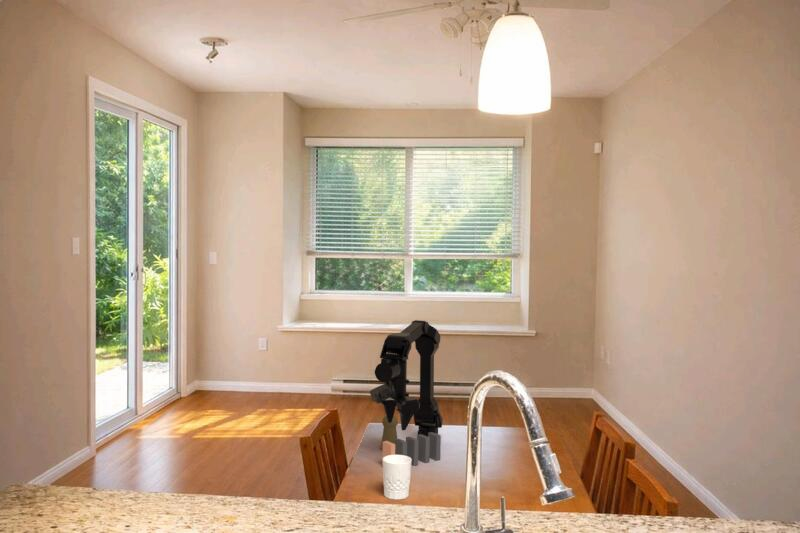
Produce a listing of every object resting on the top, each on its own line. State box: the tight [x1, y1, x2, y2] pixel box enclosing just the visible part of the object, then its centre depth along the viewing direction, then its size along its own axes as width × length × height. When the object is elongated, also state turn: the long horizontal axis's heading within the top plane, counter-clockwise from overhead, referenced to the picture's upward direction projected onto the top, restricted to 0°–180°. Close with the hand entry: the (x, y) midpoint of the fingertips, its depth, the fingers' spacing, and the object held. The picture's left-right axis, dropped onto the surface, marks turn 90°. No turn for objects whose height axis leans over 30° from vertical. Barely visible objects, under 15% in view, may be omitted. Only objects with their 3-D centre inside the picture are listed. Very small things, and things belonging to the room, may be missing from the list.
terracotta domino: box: [381, 441, 395, 469], centre depth 207 cm, size 2×4×8 cm, turn 36°
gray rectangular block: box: [428, 432, 442, 462], centre depth 217 cm, size 2×4×8 cm, turn 37°
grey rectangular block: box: [405, 436, 419, 467], centre depth 212 cm, size 2×4×8 cm, turn 37°
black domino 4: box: [394, 438, 407, 456], centre depth 209 cm, size 2×4×8 cm, turn 37°
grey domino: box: [416, 434, 430, 464], centre depth 215 cm, size 2×4×8 cm, turn 37°
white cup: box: [382, 455, 412, 500], centre depth 185 cm, size 8×8×10 cm
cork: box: [380, 416, 399, 452], centre depth 227 cm, size 6×6×11 cm
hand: (396, 426), depth 208 cm, fingers open, 9 cm apart
